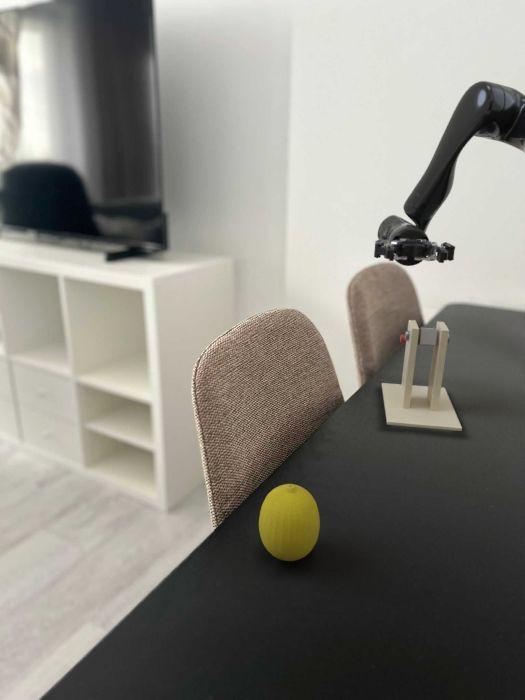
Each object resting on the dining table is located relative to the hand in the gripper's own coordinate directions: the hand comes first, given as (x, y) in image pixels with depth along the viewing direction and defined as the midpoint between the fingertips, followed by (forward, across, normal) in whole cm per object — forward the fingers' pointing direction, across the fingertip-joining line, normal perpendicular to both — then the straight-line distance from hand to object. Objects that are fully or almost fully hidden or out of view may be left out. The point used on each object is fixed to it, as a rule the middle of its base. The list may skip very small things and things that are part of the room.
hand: (417, 255), depth 89 cm
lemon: (+54, -16, +21) cm, 60 cm away
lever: (+16, 0, +11) cm, 20 cm away
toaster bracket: (+20, 0, +21) cm, 29 cm away
